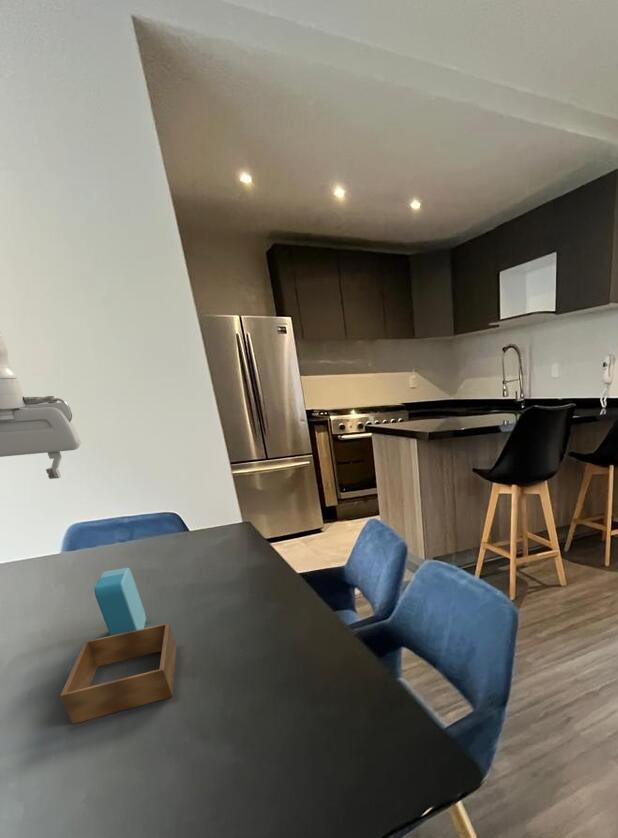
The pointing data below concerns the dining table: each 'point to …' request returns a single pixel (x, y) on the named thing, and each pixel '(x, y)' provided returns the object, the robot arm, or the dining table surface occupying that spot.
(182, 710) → the dining table surface
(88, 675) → the wooden box
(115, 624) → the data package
